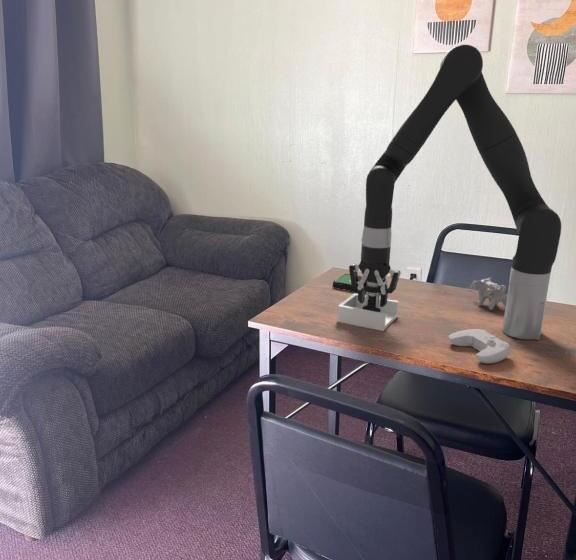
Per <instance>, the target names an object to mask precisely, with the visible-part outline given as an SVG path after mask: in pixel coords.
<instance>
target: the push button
mask: <svg viewBox="0 0 576 560" xmlns="http://www.w3.org/2000/svg"><path fill="white" fill-rule="evenodd" d="M363 286H364V290H365V291H366V294H365V295H366V303H365V306H364V307H362V309H364V310H370V311H375V312H380V313H381V308H379V307H380V306H379V298H380V296H381V287H379V285H378V282H375V281H368V280H367V283H365V284H364V285H363ZM369 293H370V295H369ZM359 309H360V308H359Z"/></svg>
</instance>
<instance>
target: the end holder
mask: <svg viewBox="0 0 576 560" xmlns="http://www.w3.org/2000/svg"><path fill="white" fill-rule="evenodd" d="M365 303H366V294H365V301H364V303H362V304H361V303H359V301H358V293H356V292H353V294H352V295H350V296H349V297H348V298H346V299H345V300H344V301H342V302H341V303H340V304H338V305H337V316H336V317H337V318H336V321H337V323H342V324H347V325H352V326H357V327H361V328H367V329H372V330H377V331H382V332H384V331H385V330H386V329H387V328H388V327H389V326H390V325H391V324H392V323H393V322H394V321H395V320H396V318H398V314H399V313H398V312H399V300H393V299H389V298H387V304H386V305H385V306H384V307H379V308H381V313H380V312H375V311H370V310H364V309H362V307H364V306H365ZM379 306H380V297H379ZM359 308H360V309H359Z"/></svg>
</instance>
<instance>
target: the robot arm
mask: <svg viewBox="0 0 576 560" xmlns="http://www.w3.org/2000/svg"><path fill="white" fill-rule="evenodd" d="M483 67H484V61H483V57H482V54H481V52H480V51H479V49H478V48H476V47H475V46H473V45H469V44H459V45H455V46H454V47H452V48H450V49H449V50H448V51H447V52H446V54H445V55H444V56H443V58H442V59H441V62H440V65H439V70H438V72H437V74H436V75H435V78H434V80H433V82H432V84H431V85H430V87H429V89H428V90H427V91H426V94H425V95H424V97H423V98H422V99H421V101H420V102H419V103H418V105H417V106H416V107H415V108H414V109H413V111H412V112H411V113H410V114H409V116H408V117H407V118H406V120H404V122H403V123H402V124H401V126H400V127H399V128H398V131H396V133H395V135H394V136H393V137H392V139H391V141H390V142H389V144H388V145H387V147H386V149H385V151H384V152H383V154H382V155H380V157H379V158H378V160H377V161H376V162H375V164H374V165H373V166H372V168H370V170H369V173H368V174H367V175H366V179H365V209H364V221H363V230H362V236H361V250H360V251H361V253H360V263H358V264H357V263H351V264H350V265H349V266H348V272H349V274H350V278H351V285H352V287H356V288H357V289H358V293H357V294H358V301H359V303H361V304H362V303H364V301H365V295H366V294H365V290H364V286H363V285H364V284H365V283H367V280H368V281H375V282H378V285H379V287H381V292H380V296H379V298H380V307H384V306H385V305H386V304H387V299H389V298H388V295H389V294H393V293H394V292H395V291H396V289H397V286H398V283H399V279H400V276H401V272H402V271H400V270H395V269H393V268H391V264H390V261H391V260H390V259H391V251H392V250H391V249H392V223H393V198H394V190H395V184H396V182H397V181H398V179H399V177H400V176H401V174H402V173H403V172H404V170H405V168H406V167H407V165H409V164H410V163H411V162H412V161H413V160H414V158H415V157H416V156H417V154H418V153H419V151H420V150H421V149H422V148H423V146H424V145H425V143H426V142H427V140H428V139H429V137H430V136H431V134H432V133H433V131H434V130H435V128H436V127H437V125H438V124H439V122H440V121H441V119H442V118H443V116H444V115H445V113H446V112H447V111H448V110H449V108H450V107H451V106H452V104H453V103H455V101H456V102H457V104H458V105H459V107H460V110H461V111H462V113H463V115H464V119H465V120H466V123H467V127H468V129H469V132H470V134H471V137H472V139H473V142H474V144H475V146H476V149H477V151H478V153H479V154H480V157H481V159H482V161H483V164H484V165H485V166H486V169H487V170H488V172H489V174H490V175H491V177H492V178H493V180H494V182H495V184H496V185H497V186H498V188H499V189H500V190H501V192H502V194H503V196H504V198H505V200H506V202H507V205H508V208H509V210H510V214H511V215H512V219H513V223H514V225H515V228H516V231H517V233H518V238H517V239H518V240H517V244H516V245H517V246H516V251H515V254H514V256H513V257H512V260H511V267H510V274H509V280H508V281H509V282H508V285H507V286H508V289H507V294H506V295H507V300H506V306H504V308H505V309H504V314H503V315H504V316H503V321H502V329H501V330H502V332H503V333H504V334H505V335H506V336H508V337H512V338H516V339H520V340H537V341H540V338H541V334H542V331H543V329H542V328H543V323H544V319H545V318H544V317H545V313H546V312H545V311H546V306H547V301H548V299H547V297H548V292H549V285H550V279H551V275H552V274H551V272H552V267H553V265H554V264H555V261H556V259H557V255H558V249H559V245H560V240H561V234H562V220H561V218H560V216H559V214H558V213H557V212H556V211H554V210H553V209H552V208H550V207H549V206H548V204H547V203H546V202H545V200H544V198H543V197H542V195H541V193H540V192H539V190H538V188H537V187H536V184H535V183H534V180H533V177H532V174H531V170H530V169H531V168H530V165H529V162H528V157H527V155H526V151H525V149H524V147H523V144H522V142H521V140H520V138H519V135H518V134H517V132H516V130H515V128H514V126H513V125H512V123H511V121H510V120H509V118H508V116H507V115H506V114H505V112H504V111H503V110H502V109H501V107H500V106H499V105H498V103H497V102H496V100H495V98H494V97H493V95H492V94H491V91H490V90H489V88H488V87H489V86H488V85H487V83H486V80H485V77H484V74H483V72H482V71H483ZM359 271H360V272H361V274H362V278H361V280H360V282H359V280H358V276H359V275H358V272H359ZM388 274H389V276H390V279H391V281H390V284H389V286H388V280H387V276H388Z"/></svg>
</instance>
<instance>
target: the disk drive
mask: <svg viewBox="0 0 576 560" xmlns="http://www.w3.org/2000/svg"><path fill="white" fill-rule="evenodd" d="M362 276H363V275H362ZM362 276H361V275H358V280H359V282H360V280H361V278H362ZM333 287H334V288H333ZM332 288H333V289H337V288H339V289H338V290H342V289H345V290H344V291H347V290H350V291H349V292H352V291H354V292H353V293H357V292H358V289H357V288H356V287H352V285H351V278H350V273H344V274H343V275H341V276H339V277H338V278H337V279H335V280H333V282H332ZM369 294H370V293H369ZM365 295H366V291H365Z"/></svg>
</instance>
